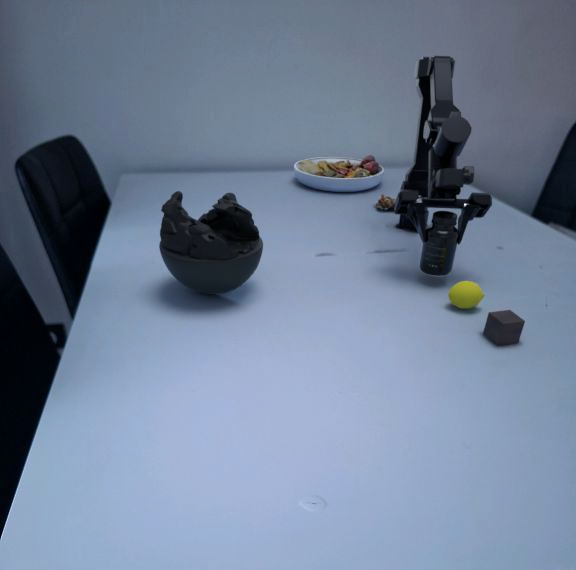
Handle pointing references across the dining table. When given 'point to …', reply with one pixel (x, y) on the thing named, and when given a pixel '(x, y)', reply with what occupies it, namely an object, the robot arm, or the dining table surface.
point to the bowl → (339, 173)
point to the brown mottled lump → (385, 202)
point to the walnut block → (503, 327)
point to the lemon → (465, 294)
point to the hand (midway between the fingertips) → (441, 242)
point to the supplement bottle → (440, 244)
